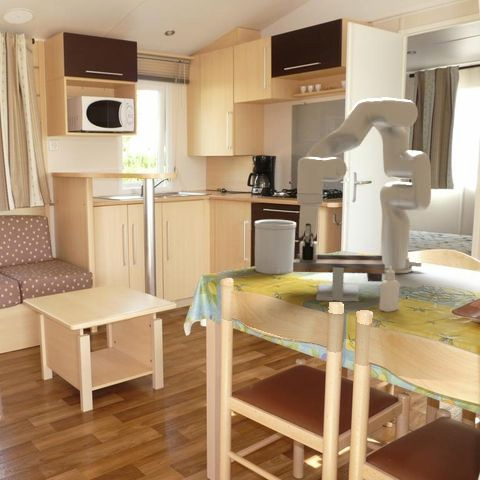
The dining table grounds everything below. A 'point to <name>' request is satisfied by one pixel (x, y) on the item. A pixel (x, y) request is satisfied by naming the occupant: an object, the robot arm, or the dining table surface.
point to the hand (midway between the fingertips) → (308, 256)
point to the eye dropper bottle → (389, 292)
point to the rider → (313, 253)
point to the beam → (345, 265)
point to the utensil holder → (274, 246)
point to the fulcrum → (337, 289)
